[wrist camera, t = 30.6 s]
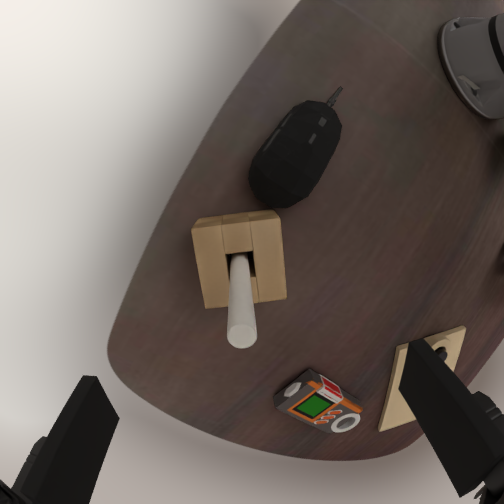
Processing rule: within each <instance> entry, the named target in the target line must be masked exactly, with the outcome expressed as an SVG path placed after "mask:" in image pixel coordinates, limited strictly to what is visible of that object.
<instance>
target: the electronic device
mask: <svg viewBox="0 0 504 504" xmlns="http://www.w3.org/2000/svg"><path fill="white" fill-rule="evenodd" d="M273 399H274V404H275V408H276V409H278V410H280V411H282V412H284V413H286V414H288V415H290V416H292V417H294V418H296V419H298V420H300V421H302V422H305V423H307V424H309V425H311V426H313V427H316V428H318V429H320V430H322V431H325V432H327V433H329V434H330V433H332V432H333V431H334V432H344V431H347V430H350V429H352V428H353V427H354V426H356V425H357V424H358V422H359V421H360V416H359V414H358V413H360V412H361V411H362V410H363V408H362V406H361V404H360V402H359V400H358V399H356V398H355V397H353V396H351V395H350V394H348V393H347V392H345V391H344V390H342V389H340V388H339V386H338V385H336V384H335V383H333V382H332V381H330V380H328V379H327V378H325V377H324V376H322V375H321V374H317V373H316V372H314V371H313V370H311V369H310V368H309V369H308V370H307V371H306V372H304V373H303V374H302V375H301V376H300V377H298V378H297V379H296V380H294V381H293V382H292V383H291V384H289V385H288V386H287V387H285V388H284V389H283V390H282V391H280V392H279V393H278V394H276V395H275V396H274V397H273Z"/></svg>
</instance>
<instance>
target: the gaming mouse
mask: <svg viewBox="0 0 504 504" xmlns="http://www.w3.org/2000/svg"><path fill="white" fill-rule="evenodd" d="M342 89H343V88H342V87H339V88H338V90H337V91H336V93H335V94H334V96H333V97H331V98H330V99H329V101H328V103H327V104H325V103H324V102H316V101H309V100H307V101H305V102H303V103H301V104H299V105H297V106H295V107H293V109H292V110H291V111H290V112H289V113H288V114H287V115H286V117H285V118H284V119H283V120H282V121H281V123H280V124H279V125H278V127H277V128H276V129H275V131H274V132H273V133H272V134H271V136H270V137H269V138H268V139H267V141H266V142H265V143H264V144H263V146H262V147H261V148H260V150H259V151H258V152H257V154H256V155H255V157H254V159H253V161H252V164H251V167H250V171H249V177H248V180H249V185H250V187H251V189H252V191H253V193H254V195H255V197H256V198H257V199H259V200H260V201H262V202H263V203H265V204H266V205H268V206H269V207H271V208H288V207H290V206H292V205H294V204H296V203H297V202H299V201H301V200H303V199H304V198H306V197H308V195H309V194H310V193H311V191H312V190H313V188H314V187H315V185H316V184H317V183H318V181H319V179H320V177H321V176H322V174H323V172H324V170H325V168H326V167H327V165H328V163H329V161H330V159H331V157H332V155H333V153H334V151H335V149H336V147H337V144H338V142H339V140H340V134H341V128H342V125H341V123H340V120H339V118H338V116H337V114H336V112H335V110H333V109H332V108H331V107H332V105H334V103H335V102H336V98H337V97H338V95H339V94H340V92H341V91H342Z"/></svg>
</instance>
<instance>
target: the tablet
mask: <svg viewBox="0 0 504 504" xmlns="http://www.w3.org/2000/svg"><path fill="white" fill-rule="evenodd" d="M465 331H466V328H465V327H464V326H463V325H462V326H459V327H456V328H453V329H450V330H447V331H444V332H441V333H438V334H435V335H432V336H429V337H426V338H424V339H425V341H426V342H427V343H428V344H429V345H430V346H431V347H432V348H433V349H434V351H435V350H436V349H437V348H438V347H442V348H443V349H444V350H445V351H446V352H447V353H448V356H447V358H446V360H445V361H444V362H445V363H446V364H447V365H448V367H449V368H450V369H451V370H452V371H454V368H455V365H456V362H457V359H458V356H459V352H460V349H461V346H462V342H463V339H464V335H465ZM408 344H409V343H406V344H402V345H399V346H397V347H396V352H395V358H394V363H393V368H392V373H391V377H390V382H389V386H388V391H387V395H386V399H385V403H384V407H383V411H382V414H381V418H380V421H379V425H378V430H379V432H381V431H384V430H387V429H390V428H393V427H396V426H399V425H402V424H405V423H407V422H410V421H413V420H415V419H416V418H415V416H414V414H413V413H412V411H411V409H410V408H409V406H408V404H407V403H406V401H405V399H404V398H403V396H402V394H401V393H400V391H399V390H398V388H399V384H400V380H401V376H402V372H403V367H404V363H405V358H406V354H407V349H408Z"/></svg>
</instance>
